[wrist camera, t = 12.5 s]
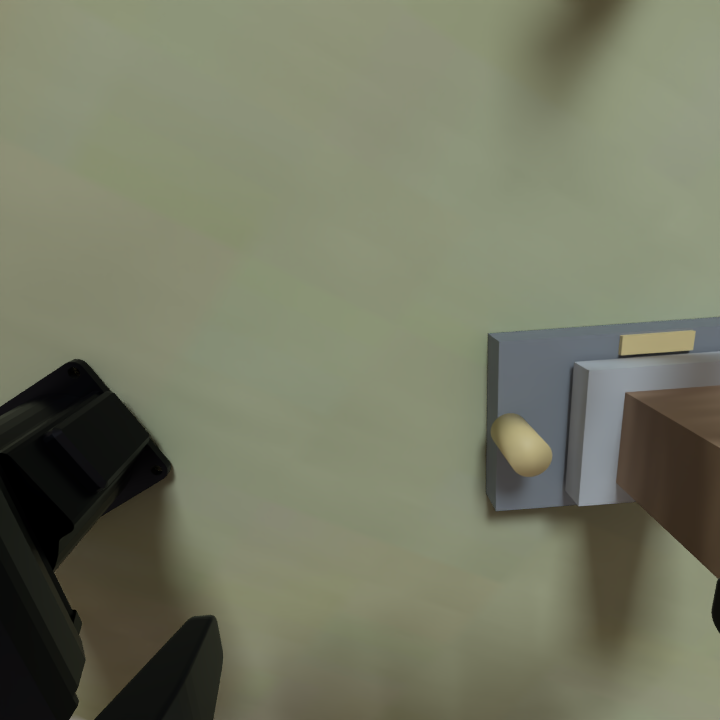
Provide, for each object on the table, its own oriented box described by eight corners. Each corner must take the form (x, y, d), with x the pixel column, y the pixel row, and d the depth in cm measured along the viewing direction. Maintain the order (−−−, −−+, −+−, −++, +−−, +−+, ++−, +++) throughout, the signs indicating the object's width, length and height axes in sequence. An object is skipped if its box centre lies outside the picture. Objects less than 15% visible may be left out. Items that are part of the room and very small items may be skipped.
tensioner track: (479, 493, 22) (508, 548, 19) (481, 333, 20) (513, 359, 16) (847, 465, 23) (950, 513, 19) (889, 305, 20) (1016, 322, 17)
